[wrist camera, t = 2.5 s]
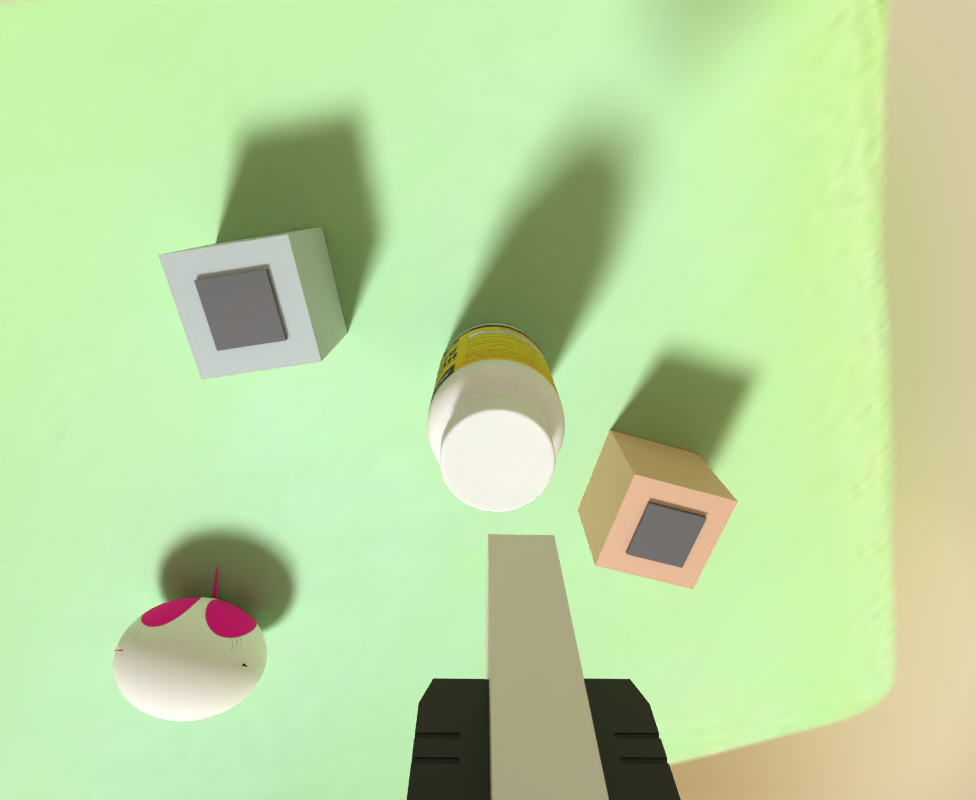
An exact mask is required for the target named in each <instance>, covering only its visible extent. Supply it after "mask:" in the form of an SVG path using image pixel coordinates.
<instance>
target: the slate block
mask: <svg viewBox="0 0 976 800" xmlns="http://www.w3.org/2000/svg"><path fill="white" fill-rule="evenodd" d="M159 258H160V260H161V263H162V266H163V269H164V272H165V275H166V278H167V281H168V284H169V287H170V289H171V292H172V295H173V298H174V301H175V304H176V307H177V310H178V313H179V316H180V318H181V321H182V324H183V327H184V330H185V333H186V336H187V339H188V342H189V344H190V347H191V350H192V353H193V356H194V359H195V362H196V365H197V368H198V371H199V373H200V376H201V379H207V378H214V377H221V376H227V375H234V374H241V373H247V372H254V371H261V370H267V369H274V368H281V367H288V366H294V365H301V364H308V363H314V362H321V361H322V360H323V359H324V358H325V357H326V356H327V355H328V354H329V352H330V351H331V350H332V349H333V348H334V347H335V346H336V345H337V344H338V343H339V342H340V341H341V339H342V338H343V337H344V336H345V335H346V334H347V333H348V332H347V328H346V324H345V319H344V315H343V311H342V307H341V303H340V299H339V295H338V290H337V286H336V282H335V278H334V274H333V270H332V266H331V261H330V257H329V253H328V249H327V245H326V241H325V237H324V232H323V228H322V227H317V228H310V229H304V230H298V231H291V232H285V233H279V234H272V235H266V236H260V237H254V238H247V239H241V240H235V241H228V242H222V243H216V244H211V245H206V246H201V247H196V248H191V249H186V250H181V251H176V252H171V253H166V254H161V255H159Z"/></svg>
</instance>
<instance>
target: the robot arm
mask: <svg viewBox="0 0 976 800" xmlns="http://www.w3.org/2000/svg"><path fill="white" fill-rule="evenodd" d="M485 664H486V679H433V680H432V682H431V684H430V685H429V687H428V689H427V690H426V692H425V694H424V695H423V697H422V699H421V700H420V702H419V706H418V714H417V722H416V730H415V738H414V746H413V754H412V763H411V770H410V778H409V786H408V794H407V800H680V797H679V793H678V791H677V787H676V784H675V781H674V778H673V775H672V772H671V769H670V766H669V764H668V763H667V757H666V753H665V750H664V747H663V744H662V741H661V739H659V732H658V729H657V726H656V723H655V720H654V717H653V713H652V710H651V707H650V704H649V703H648V702H647V700H646V699H645V698H644V696H643V695H642V694H641V693H640V691H639V690H638V689H637V688H636V686H635V685H634V684H633V682H632V681H631V680H630V679H584V678H583V673H582V668H581V663H580V658H579V653H578V649H577V644H576V639H575V634H574V629H573V625H572V620H571V615H570V610H569V605H568V600H567V596H566V591H565V586H564V581H563V576H562V571H561V567H560V562H559V557H558V552H557V547H556V543H555V538H554V535H497V534H488V557H487V590H486V623H485Z"/></svg>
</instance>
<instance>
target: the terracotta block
mask: <svg viewBox="0 0 976 800" xmlns="http://www.w3.org/2000/svg"><path fill="white" fill-rule="evenodd" d="M737 502H738V501H737V500H736V499H735V498H734V497H733V495H732V494H731V493H730V492H729V491H728V489H727V488H726V487H725V486H724V485H723V483H722V482H721V481H720V480H719V479H718V477H717V476H716V475H715V474H714V473H713V471H712V470H711V469H710V468H709V467H708V465H707V464H706V463H705V462H704V461H703V460H702V458H701V457H700V456H699V455H698V454H697V453H693V452H690V451H686V450H682V449H679V448H675V447H671V446H668V445H664V444H660V443H657V442H653V441H649V440H646V439H642V438H638V437H635V436H631V435H627V434H624V433H620V432H616V431H613V430H610V431H609V434H608V436H607V438H606V441H605V443H604V446H603V448H602V451H601V453H600V456H599V458H598V461H597V463H596V466H595V468H594V471H593V473H592V476H591V478H590V481H589V483H588V486H587V488H586V491H585V493H584V496H583V498H582V501H581V503H580V506H579V508H578V512H579V515H580V518H581V521H582V525H583V528H584V531H585V534H586V537H587V540H588V544H589V547H590V550H591V553H592V556H593V560H594V563H595V565H596V566H600V567H604V568H608V569H612V570H617V571H621V572H625V573H629V574H633V575H637V576H641V577H645V578H650V579H654V580H658V581H662V582H666V583H670V584H674V585H679V586H683V587H687V588H691V589H693V588H694V586H695V584H696V582H697V580H698V578H699V576H700V574H701V572H702V570H703V568H704V566H705V564H706V562H707V560H708V558H709V556H710V554H711V552H712V550H713V548H714V547H715V545H716V543H717V541H718V539H719V537H720V535H721V533H722V531H723V529H724V527H725V525H726V523H727V521H728V519H729V517H730V515H731V513H732V511H733V509H734V507H735V505H736V504H737Z"/></svg>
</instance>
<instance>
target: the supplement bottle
mask: <svg viewBox="0 0 976 800" xmlns="http://www.w3.org/2000/svg"><path fill="white" fill-rule="evenodd" d="M564 430H565V421H564V413H563V408H562V405H561V401H560V398H559V396H558V393H557V390H556V387H555V384H554V381H553V379H552V376H551V373H550V370H549V367H548V365H547V362H546V359H545V357H544V355H543V353H542V351H541V349H540V348H539V346H538V345H537V343H536V342H535V341H534V340H533V339H532V338H531V337H530V336H529V335H527V334H526V333H524V332H523V331H521V330H519V329H518V328H515V327H513V326H510V325H506V324H499V323H490V324H482V325H478V326H475V327H472V328H470V329H468V330H466V331H464V332H463V333H461V334H460V335H459V336H457V337H456V338H455V339H454V340H453V341H452V342H451V344H450V345H449V346H448V348H447V349H446V351H445V353H444V355H443V358H442V360H441V363H440V367H439V371H438V376H437V379H436V384H435V388H434V392H433V396H432V400H431V403H430V408H429V413H428V422H427V431H428V438H429V443H430V446H431V449H432V451H433V453H434V455H435V457H436V459H437V460H438V462H439V463H440V469H441V473H442V476H443V479H444V481H445V483H446V485H447V486H448V488H449V489H450V490H451V492H452V493H453V494H454V495H455V496H456V497H457V498H459V499H460V500H461V501H463V502H464V503H466V504H468V505H470V506H472V507H475V508H478V509H481V510H486V511H496V512H499V511H508V510H513V509H516V508H519V507H521V506H524V505H526V504H527V503H529V502H531V501H533V500H534V499H535V498H536V497H538V496H539V495H540V494H541V493H542V492H543V490H544V489H545V488H546V486H547V485H548V483H549V481H550V479H551V477H552V475H553V471H554V467H555V458H556V456H557V454H558V452H559V451H560V448H561V445H562V442H563V438H564Z"/></svg>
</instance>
